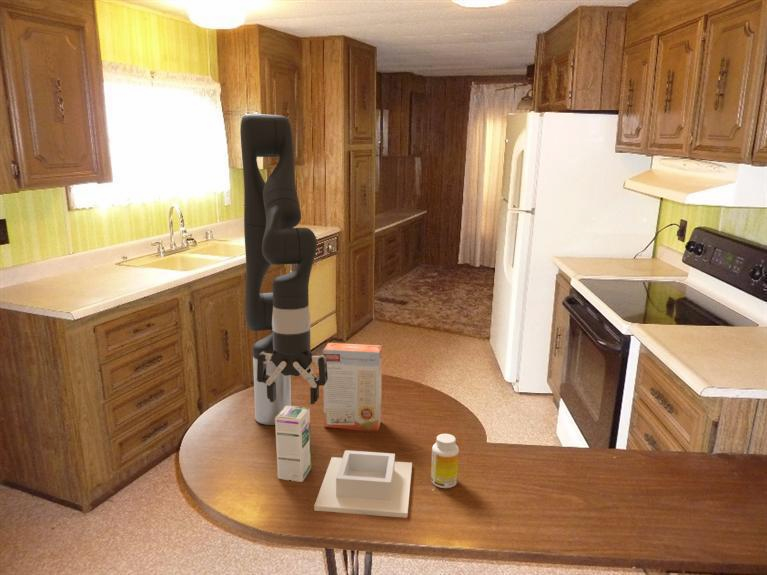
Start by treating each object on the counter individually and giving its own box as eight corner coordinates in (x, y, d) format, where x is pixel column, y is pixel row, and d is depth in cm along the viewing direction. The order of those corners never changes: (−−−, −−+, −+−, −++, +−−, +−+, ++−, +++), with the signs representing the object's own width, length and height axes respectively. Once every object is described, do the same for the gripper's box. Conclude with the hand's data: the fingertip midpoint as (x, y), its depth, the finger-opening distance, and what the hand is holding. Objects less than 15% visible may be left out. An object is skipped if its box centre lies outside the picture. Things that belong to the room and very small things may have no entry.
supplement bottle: (462, 485, 118) (464, 441, 115) (439, 492, 115) (441, 447, 113) (448, 472, 123) (450, 429, 120) (425, 478, 120) (427, 434, 118)
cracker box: (381, 421, 145) (383, 344, 140) (378, 432, 140) (379, 352, 135) (328, 416, 147) (328, 340, 142) (323, 427, 141) (322, 348, 136)
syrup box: (303, 482, 118) (301, 419, 114) (276, 479, 119) (274, 416, 115) (311, 468, 123) (311, 407, 120) (286, 465, 124) (284, 404, 121)
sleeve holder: (331, 461, 126) (331, 440, 125) (412, 466, 124) (412, 446, 123) (314, 510, 109) (314, 487, 107) (407, 517, 107) (408, 494, 106)
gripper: (329, 323, 116) (330, 396, 120) (262, 320, 118) (265, 392, 121) (322, 334, 109) (323, 411, 113) (250, 330, 110) (253, 407, 114)
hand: (293, 401), depth 117 cm, fingers open, 8 cm apart
